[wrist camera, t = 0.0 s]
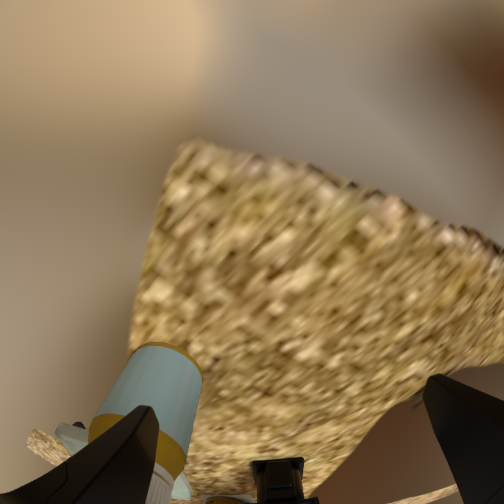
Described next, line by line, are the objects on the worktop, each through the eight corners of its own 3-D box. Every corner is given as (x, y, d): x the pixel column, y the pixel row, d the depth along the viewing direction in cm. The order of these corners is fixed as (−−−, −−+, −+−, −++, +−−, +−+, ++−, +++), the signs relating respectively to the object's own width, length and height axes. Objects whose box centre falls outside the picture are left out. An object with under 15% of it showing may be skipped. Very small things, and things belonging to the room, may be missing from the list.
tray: (193, 479, 29) (190, 500, 25) (99, 462, 30) (92, 480, 26) (172, 433, 26) (165, 458, 23) (66, 414, 27) (54, 432, 23)
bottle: (172, 404, 25) (136, 526, 11) (120, 361, 24) (51, 476, 9) (219, 375, 24) (198, 522, 10) (162, 324, 23) (87, 464, 8)
